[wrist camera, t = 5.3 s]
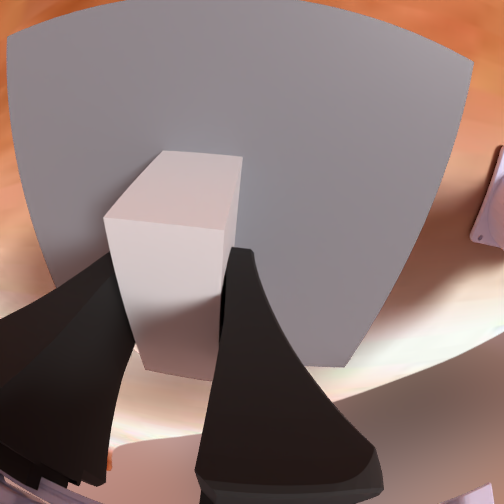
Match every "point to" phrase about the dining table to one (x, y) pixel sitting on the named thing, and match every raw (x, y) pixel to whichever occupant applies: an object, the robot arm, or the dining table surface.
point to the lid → (233, 161)
